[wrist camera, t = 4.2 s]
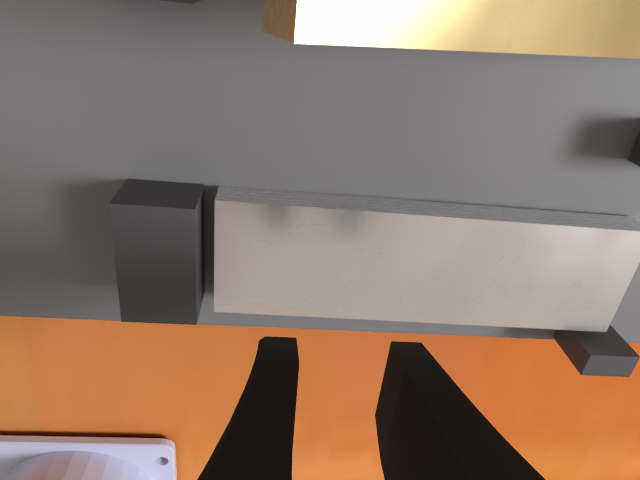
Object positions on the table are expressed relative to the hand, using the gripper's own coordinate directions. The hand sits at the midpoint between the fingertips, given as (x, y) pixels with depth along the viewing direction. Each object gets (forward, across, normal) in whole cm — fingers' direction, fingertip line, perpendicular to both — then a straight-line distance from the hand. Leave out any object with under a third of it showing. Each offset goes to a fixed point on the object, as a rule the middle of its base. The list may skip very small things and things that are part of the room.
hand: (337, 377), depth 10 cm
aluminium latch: (+5, -3, 0) cm, 6 cm away
